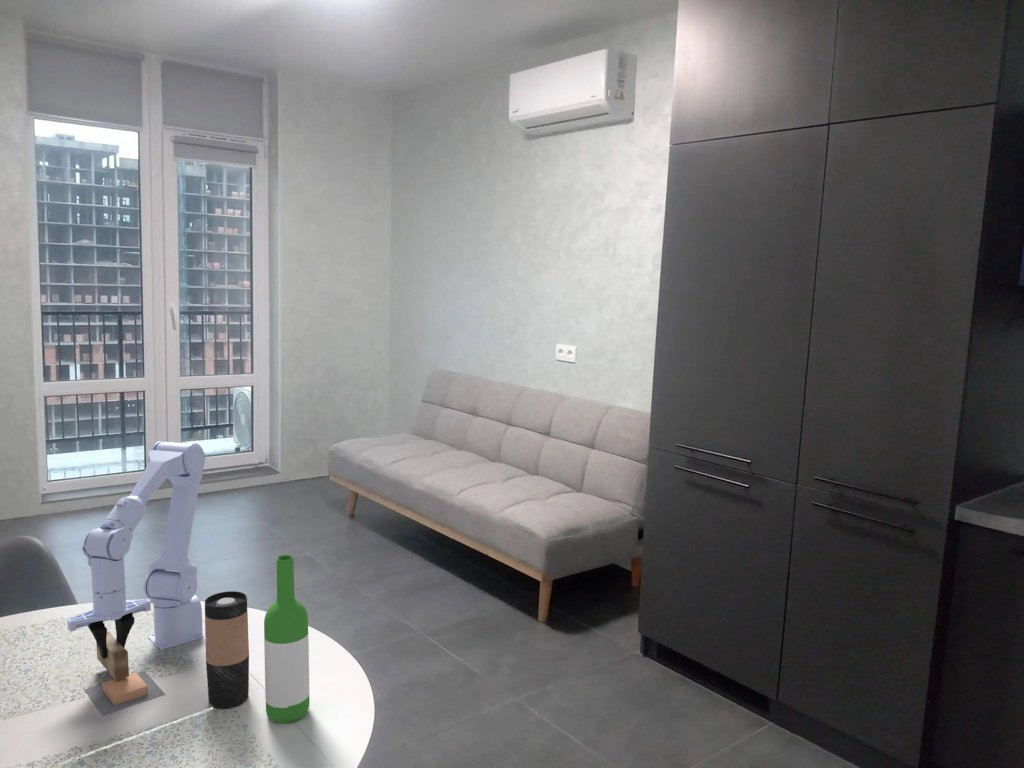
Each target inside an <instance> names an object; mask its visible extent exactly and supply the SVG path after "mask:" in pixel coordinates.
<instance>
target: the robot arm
mask: <svg viewBox="0 0 1024 768" xmlns="http://www.w3.org/2000/svg"><path fill="white" fill-rule="evenodd" d="M205 461H206V452H205V451H204V450H203V448H202V446H201V445H200V444H199V443H196V442H195V443H194V442H192V443H189V442H188V443H187V442H186V443H185V442H172V441H165V440H159V441H156V442H155V443H154V444H153V445H152V447H151V450H150V451H149V452H148V453H147V466H146V467H145V469H144V471H143V473H142V475H141V476H140V477H139V480H138V481H137V482H136V485H134V488H133V489H132V491H131V492H130V494H129V496H124V497H120V499H118V501H117V502H116V504H115V505H114V507H112V510H110V512H109V513H108V515H107V516H106V518H105V519H104V521H103V522H102V523H101V525H100V526H99V527H96V528H94V529H92V530H90V532H88V533H87V534H86V536H85V538H84V541H83V545H82V546H81V549H82V550H81V551H82V552H83V555H84V556H85V557H86V558H87V559H86V560H87V565H88V566H89V567H90V572H91V590H92V591H91V593H92V609H91V610H88V611H87V612H84V613H83V612H82V613H81V614H78V615H76V616H72V617H69V618H67V620H66V622H67V624H66V625H67V629H68V631H70V632H74V631H77V629H81V628H84V627H87V628H88V629H89V631H90V632H91V634H92V636H93V638H94V639H95V642H97V644H98V647H99V651H100V655H101V657H102V658H103V659H105V658H107V645H106V637H107V632H108V628H107V627H106V625H105V623H104V622H106V621H114V623H115V633H116V635H115V639H116V640H117V641H118V642H119V643H120V644H121V645H122V646H123V647H124V648H125V649H126V643H127V640H128V636H129V633H130V632H131V630H132V627H133V626H134V624H135V619H136V618H135V617H134V616H133V615H134V614H137V613H141V612H150V611H151V609H152V607H151V605H153V627H154V632H153V633H154V634H151V635H149V636H148V639H149V640H150V642H152V643H153V645H155V647H156V648H157V649H159V650H165V649H168V648H172V647H175V646H179V645H182V644H186V643H189V642H192V641H196V640H198V639H203V638H205V634H203V633H204V632H203V607H202V603H201V600H200V598H199V597H198V595H196V592H197V589H198V580H197V579H198V577H197V572H198V567H197V566H196V565H195V564H194V563H193V562H192V561H191V560H190V559H189V558H188V554H189V549H190V542H191V536H192V532H193V531H192V530H193V525H194V517H195V512H196V506H197V500H198V495H199V494H198V493H199V489H200V488H199V487H200V481H202V479H203V476H204V475H203V474H204V468H205ZM166 479H168V480H169V482H171V484H172V491H171V492H172V493H171V498H170V504H169V511H168V516H167V521H166V526H165V531H164V532H165V533H164V539H163V545H162V551H161V556H160V557H159V558H156V560H154V561H153V562H152V563H150V564H149V570H148V571H147V572H148V573H147V574H146V577H145V579H144V580H143V593H144V596H146V597H145V598H143V599H138V600H131V601H127V599H126V598H127V597H126V594H127V593H126V576H125V575H126V574H125V573H126V572H125V556H126V555H127V554H129V551H130V549H131V545H132V544H131V543H132V540H133V536H134V534H133V532H135V530H136V529H137V527H138V526H139V524H140V522H141V521H142V520H143V518H145V516H146V514H147V510H148V509H147V506H146V504H147V502H148V501H149V500H150V498H152V496H153V495H154V494H155V493H156V491H157V490H158V489H159V488H160V487H161V486H162V484H163V483H164V482H165V480H166Z"/></svg>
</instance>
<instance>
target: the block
mask: <svg viewBox="0 0 1024 768" xmlns="http://www.w3.org/2000/svg"><path fill="white" fill-rule="evenodd" d="M137 673H138V672H136V671H134V672H132V673H129V676H128V677H125V678H122V679H119V680H115V679H114V678H112V679H109V680H106V681H103V682H102V683H101V684H102V686H103V691H104V693H105V694H106V695H107V697H108V698H109V699H110V701H111V702H112V703H113V704H114V705H117V704H120V703H123V702H126V701H129V700H132V699H135V698H138V697H141V696H144V695H147V694H148V686H147V684H146V683H145V682H144V681H143V680H142V679H141V678H140V677H139V675H138V674H137Z"/></svg>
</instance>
